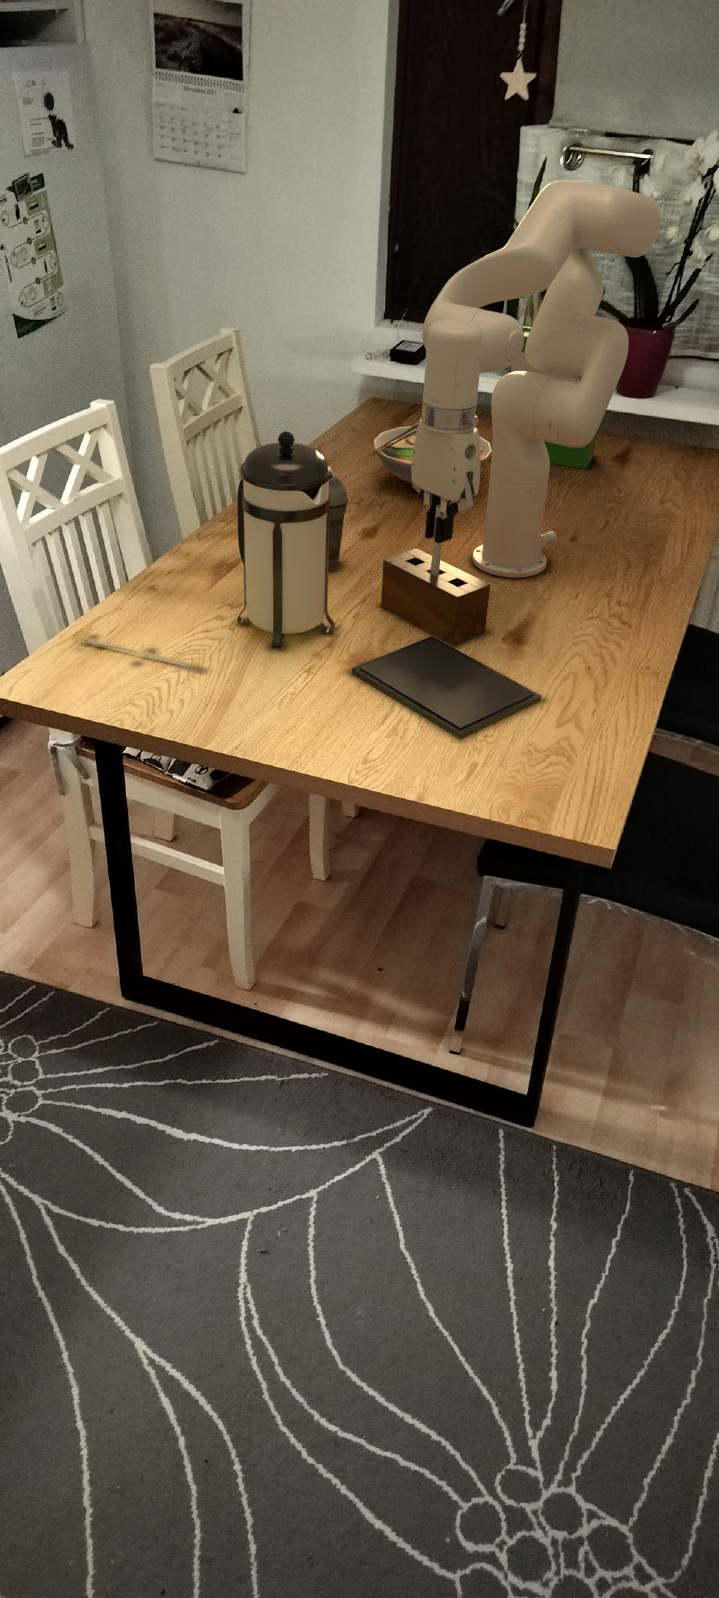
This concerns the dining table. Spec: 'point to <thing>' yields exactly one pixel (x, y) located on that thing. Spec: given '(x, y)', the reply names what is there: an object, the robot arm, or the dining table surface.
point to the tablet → (446, 686)
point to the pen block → (435, 596)
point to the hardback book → (555, 452)
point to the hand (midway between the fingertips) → (438, 537)
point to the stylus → (99, 643)
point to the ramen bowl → (407, 450)
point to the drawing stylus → (436, 550)
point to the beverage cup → (336, 518)
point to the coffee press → (285, 537)
